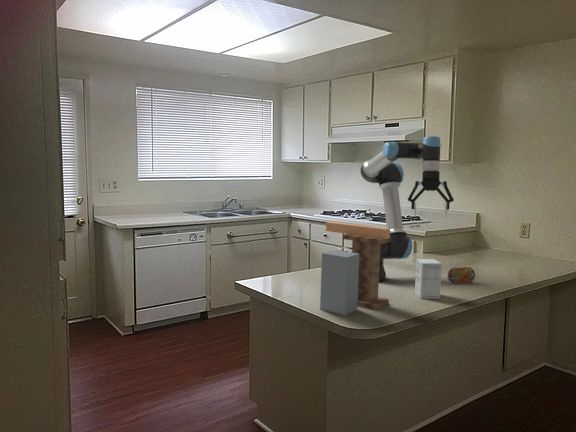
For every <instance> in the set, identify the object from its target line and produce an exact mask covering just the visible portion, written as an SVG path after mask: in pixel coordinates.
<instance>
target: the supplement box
mask: <svg viewBox="0 0 576 432" xmlns="http://www.w3.org/2000/svg"><path fill="white" fill-rule="evenodd" d="M415 262H416V263H415V264H416V265H415V282H414V283H415V284H414V294H415V295H416V296H417V297H418V298H419V299H421V300H422V299H424V300H426V299H427V300H432V299H433V300H436V299H437V300H438V299H439V300H440V299H441V282H442V281H441V280H442V266H443V264H442V262H440V261H438V260H437V259H435V258H434V259H433V258H425V259H424V258H421V259H420V258H417V259H416V261H415Z"/></svg>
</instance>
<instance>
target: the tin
mask: <svg viewBox="0 0 576 432" xmlns="http://www.w3.org/2000/svg"><path fill="white" fill-rule="evenodd" d="M475 276H476V272H475V270H474V269H473V268H472V267H470V266H469V267H468V266H462V267H451V268H450V269H449V270H448V272H447V280H448V281H449V282H450V283H451V284H454V285H459V284H462V285H463V284H471V283H472V282H473V281H474V280H475Z"/></svg>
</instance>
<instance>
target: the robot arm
mask: <svg viewBox="0 0 576 432" xmlns="http://www.w3.org/2000/svg"><path fill="white" fill-rule="evenodd" d="M441 146H442V144H441V138H440V137H439V136H437V135H434V136H433V135H431V136H430V135H429V136H425V137H423V141H422V142H403V141H402V142H401V141H387V142H385V143H384V144H383V147H382V151H381V152H379V153H378V154H377V155H375V156H374V157H373V158H371V159H368V160H365V162H363V164H361V167H360V171H359V172H360V175H361V177H362V178H363V179H364V180H365V181H366V182H368V183H372V184H378V187H379V188H380V189H381V190H382V198H383V207H384V216H385V224H386V228H389V229H390V237H391V241H390V242H387V243H383V244H381V245H380V266H379V283H380V282H381V283H382V282H385V281H387V274H386V270H385V266H384V262H385V261H384V260H401V259H407V258H409V257H410V255H411V254H412V250H413V240H412V238H411V237H410V236H408V233H407V231H405V230H404V224H403V217H402V209H401V201H400V199H401V198H400V192H399V187H400V186H401V185H402V182H403V181H404V175H405V174H404V169H403V167H402V165H401V164H400V163H398V162H395V161H397V160H399V159H403V160H406V159H412V160H419V161H421V160H422V170H423V171H422V176H421V177H422V178H421V179H422V180H421V181H418V180H416V181H414V186H413V188H412V190H411V192H410V194H409V195H408V198H407V201H408V202H411V203H410V204H411V210H413V217H415V218H416V217H417V202H416V201H417V200H418V199H419V198H420V196H421V195H422V194H423V193H424V192H425V191H427V192H430V191H431V192H433V191H436V192H437V193H438V194H439V195H440V196H441V198H442V199H443V200H444V201H445V202H444V204H443V205H444V206H443V207H444V208H443V209H444V211H443V217H444V218H447V217H448V216H447V214H448V211H449V210H450V203H452V202H454V200H455V199H454V197H453V195H452V194H451V191H450V189H449V187H448V184H447V181H446V180H444V181H440V176H441V175H440V172H441V171H439V170H441V168H440V167H441ZM420 185H421V186H422V188H421V189H420V191H418V193H417V194H416V195H414V194H415V192H416V190H417V189H418V187H420ZM440 185H441V186H442V187H443V189H444V190H445V192H446V194H447V196H446V195H445V193H444V192H443V191H442V190H441V189H440ZM448 198H449V199H448Z"/></svg>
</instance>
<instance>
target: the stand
mask: <svg viewBox="0 0 576 432" xmlns="http://www.w3.org/2000/svg"><path fill="white" fill-rule="evenodd" d="M342 239H343V240H347V241H351V243H352V244H351V247H352V248H351V252H352V253H358V254H359V276H358V299H357V307H362V308H365V309H370V310H373V309H374V311H376V309H377V310H379V309H380V308H382V307H385V306H387V305H389V302H390V299H389V298H385V297H381V296H380V297H379V283H380V282H379V266H380V245H381V244H383V243H387V242H390V241H391V237H390V238H388V239H382V238H374V237H367V236H360V235H352V234H345V233H342ZM378 308H379V309H378Z"/></svg>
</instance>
